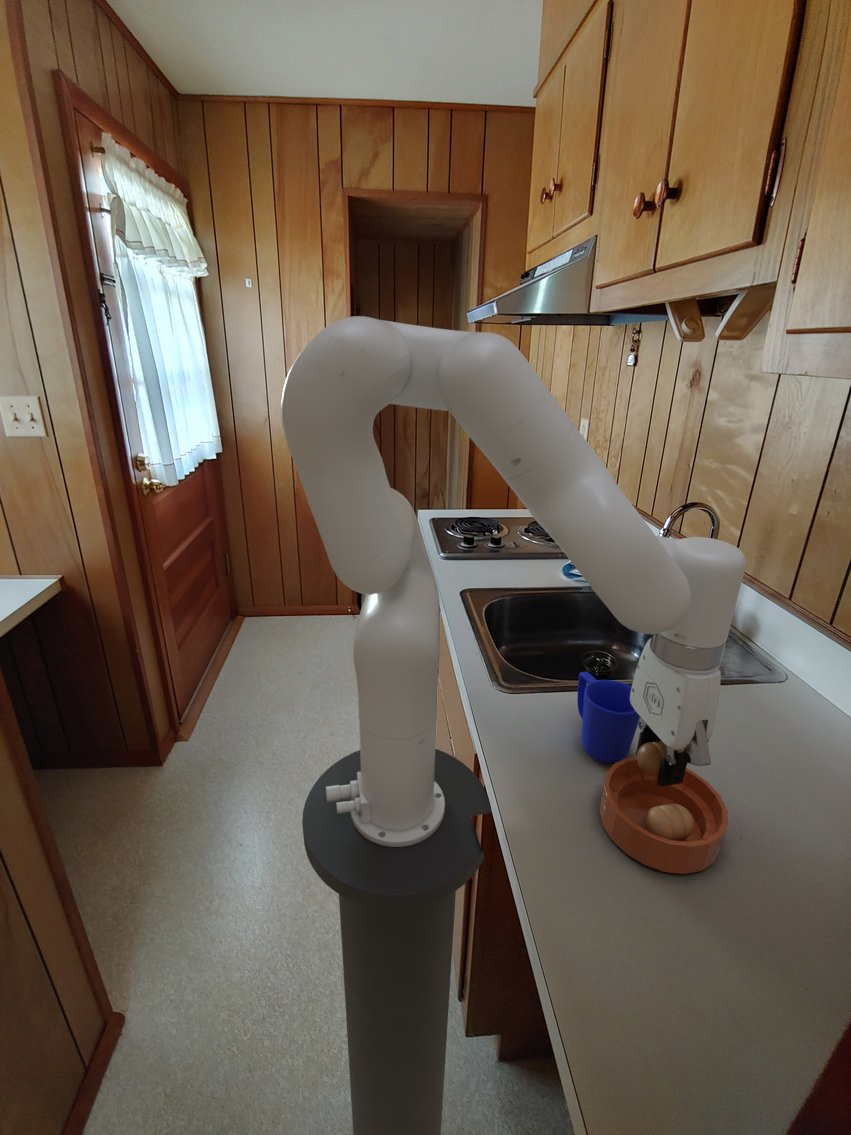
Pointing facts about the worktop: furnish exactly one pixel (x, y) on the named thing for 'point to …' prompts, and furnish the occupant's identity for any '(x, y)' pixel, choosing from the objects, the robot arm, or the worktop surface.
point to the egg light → (669, 821)
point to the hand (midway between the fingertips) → (658, 768)
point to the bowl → (639, 792)
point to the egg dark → (652, 756)
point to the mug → (606, 718)
